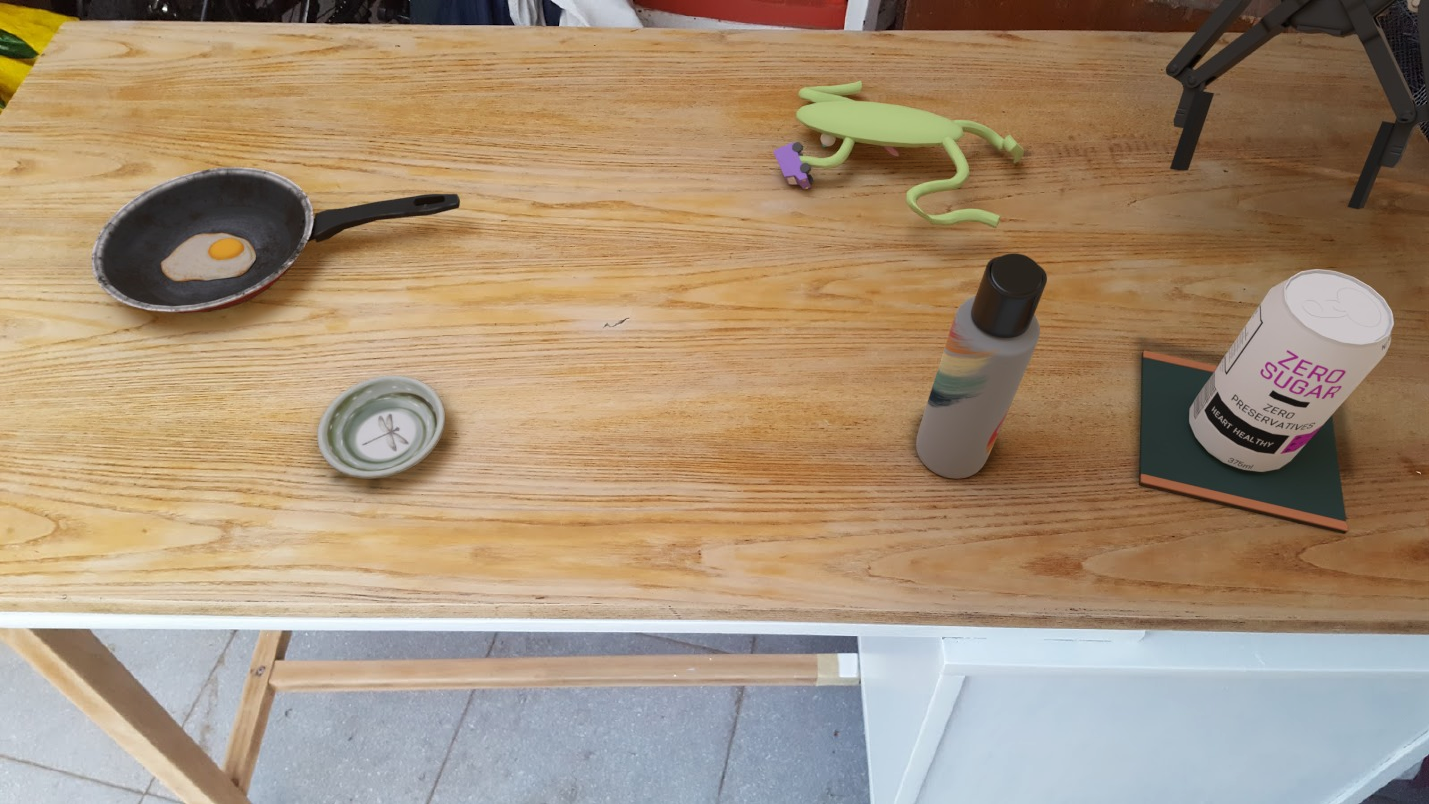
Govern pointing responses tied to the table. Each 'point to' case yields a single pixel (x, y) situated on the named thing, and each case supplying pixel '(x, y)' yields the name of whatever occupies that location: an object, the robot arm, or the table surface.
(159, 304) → the frying pan
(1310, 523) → the mat
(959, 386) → the lotion bottle
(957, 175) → the figurine
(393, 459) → the saucer
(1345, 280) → the supplement can
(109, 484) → the table surface
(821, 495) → the table surface
